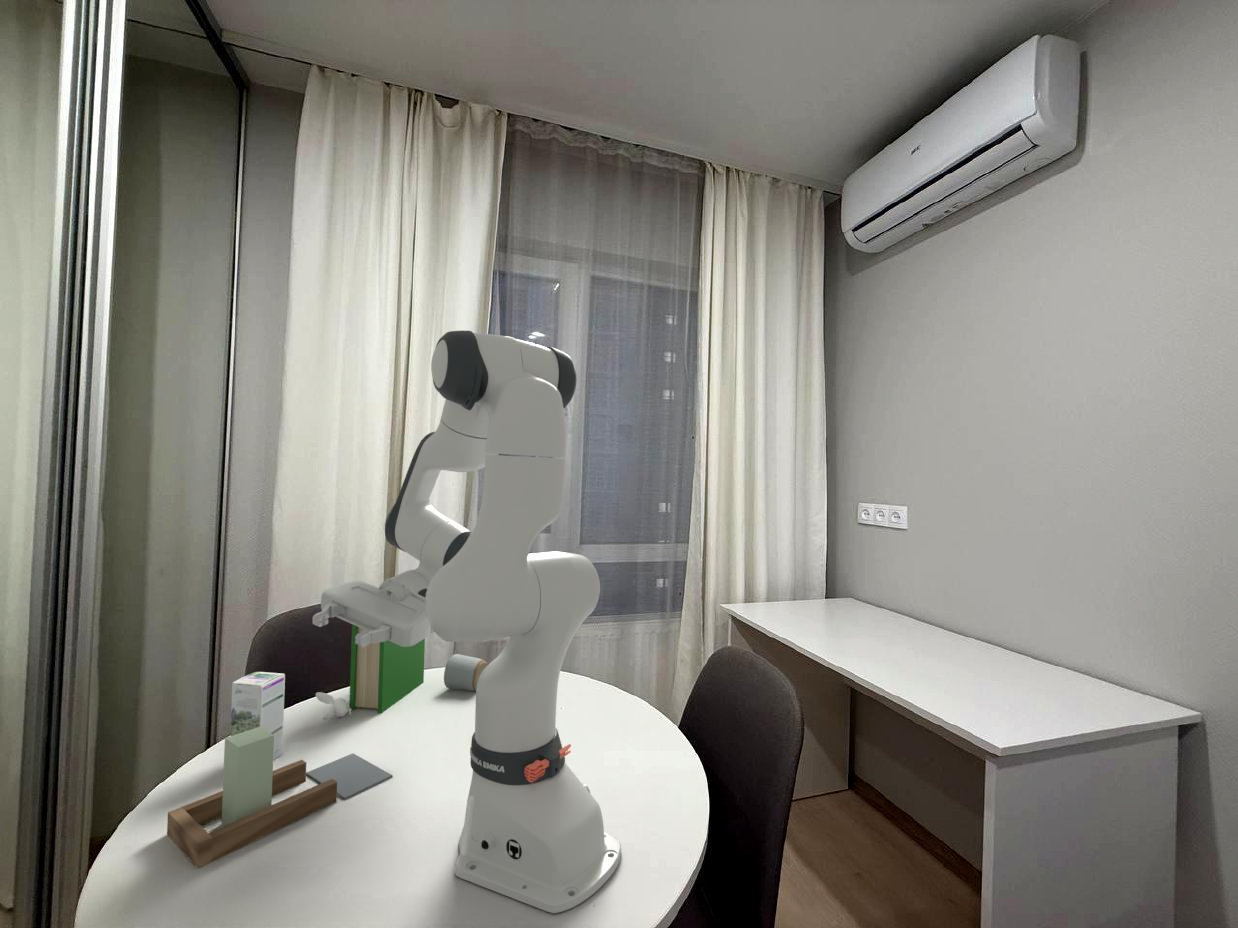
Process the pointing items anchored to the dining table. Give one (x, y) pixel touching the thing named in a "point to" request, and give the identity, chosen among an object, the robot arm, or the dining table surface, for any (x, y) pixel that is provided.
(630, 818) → the dining table surface
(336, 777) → the mat
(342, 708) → the rabbit figurine
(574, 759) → the dining table surface
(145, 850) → the dining table surface
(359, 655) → the hardback book
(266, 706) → the syrup box
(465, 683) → the ceramic mug
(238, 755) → the sage block
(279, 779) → the frame
